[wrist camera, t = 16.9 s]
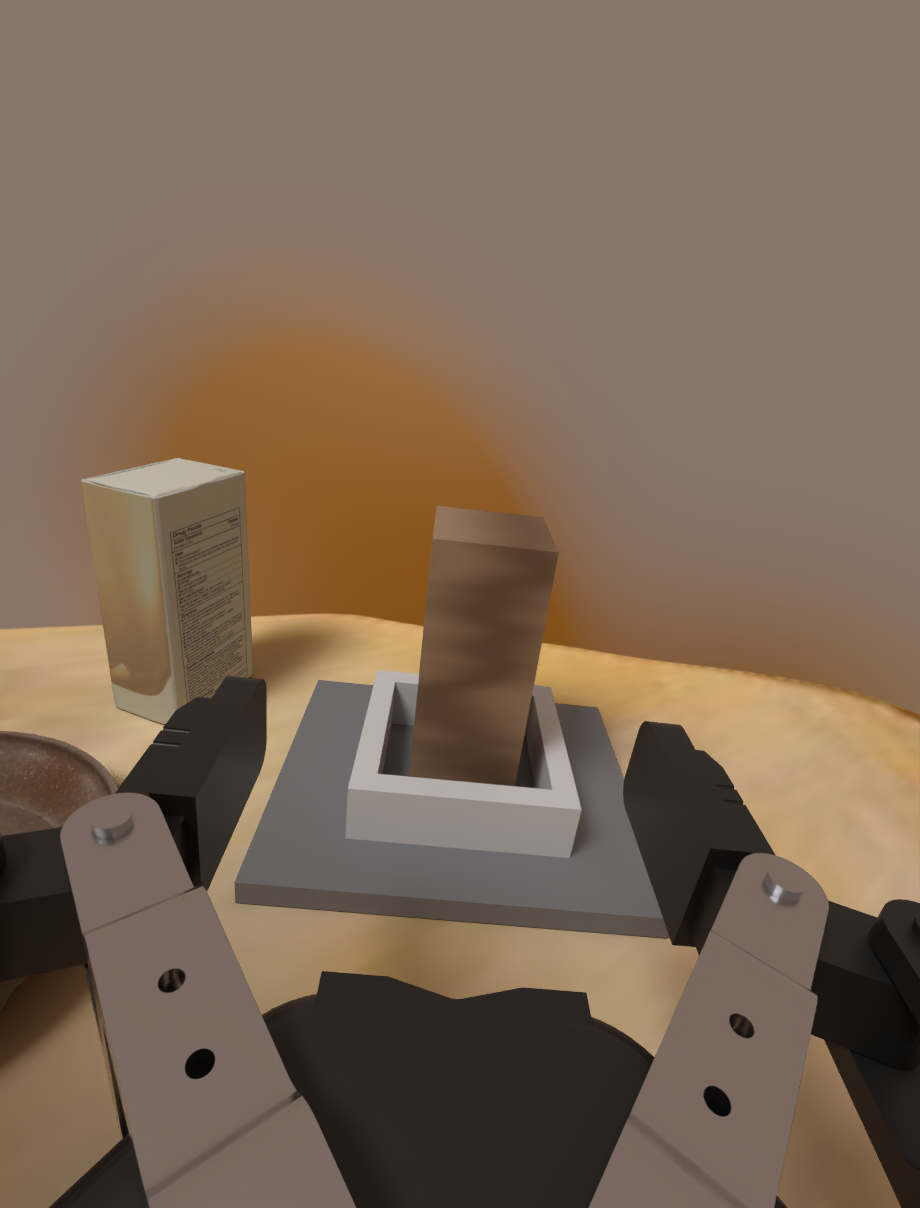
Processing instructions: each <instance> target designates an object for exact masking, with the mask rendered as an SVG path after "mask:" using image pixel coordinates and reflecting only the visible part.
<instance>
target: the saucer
mask: <svg viewBox="0 0 920 1208" xmlns="http://www.w3.org/2000/svg"><path fill="white" fill-rule="evenodd" d="M117 790H118V788H117V786H116V783H115V781H114V779H113V778H112V776H111V775H110V774H109V772H108V771H107V770H106V768H105V767H104V766H103V765H102V764H101V763H100V762H99V761H97V760H96V759H95V758H93V757H91V756H90V755H89V754H88V753H86V752H84V751H82V750H80V749H79V748H77V747H75V746H72V745H70V744H68V743H65V742H63V741H59V740H56V739H52V738H48V737H43V736H38V735H35V734H26V733H19V732H6V731H0V832H1V836H4V835H11V834H18V833H25V832H32V831H39V830H47V829H52V828H58V827H61V826H63V825H64V823H65V822H66V820H67V819H68V818H69V817H70V816H71V815H72V814H73V813H74V812H75V811H76V810H77V809H79V808H80V807H82V806H83V805H85V804H87V803H89V802H91V801H93V800H95V799H98V798H101V797H103V796H107V795H111V794H115V792H116V791H117ZM27 977H28V976H26V977H21V978H20V980H19V981H18V983H17V985H16V986H15V988H16V987H17V986H18V985H19V984H20V983H21V982H23V981H24V980H25V979H26V978H27ZM15 988H14V989H15Z"/></svg>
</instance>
